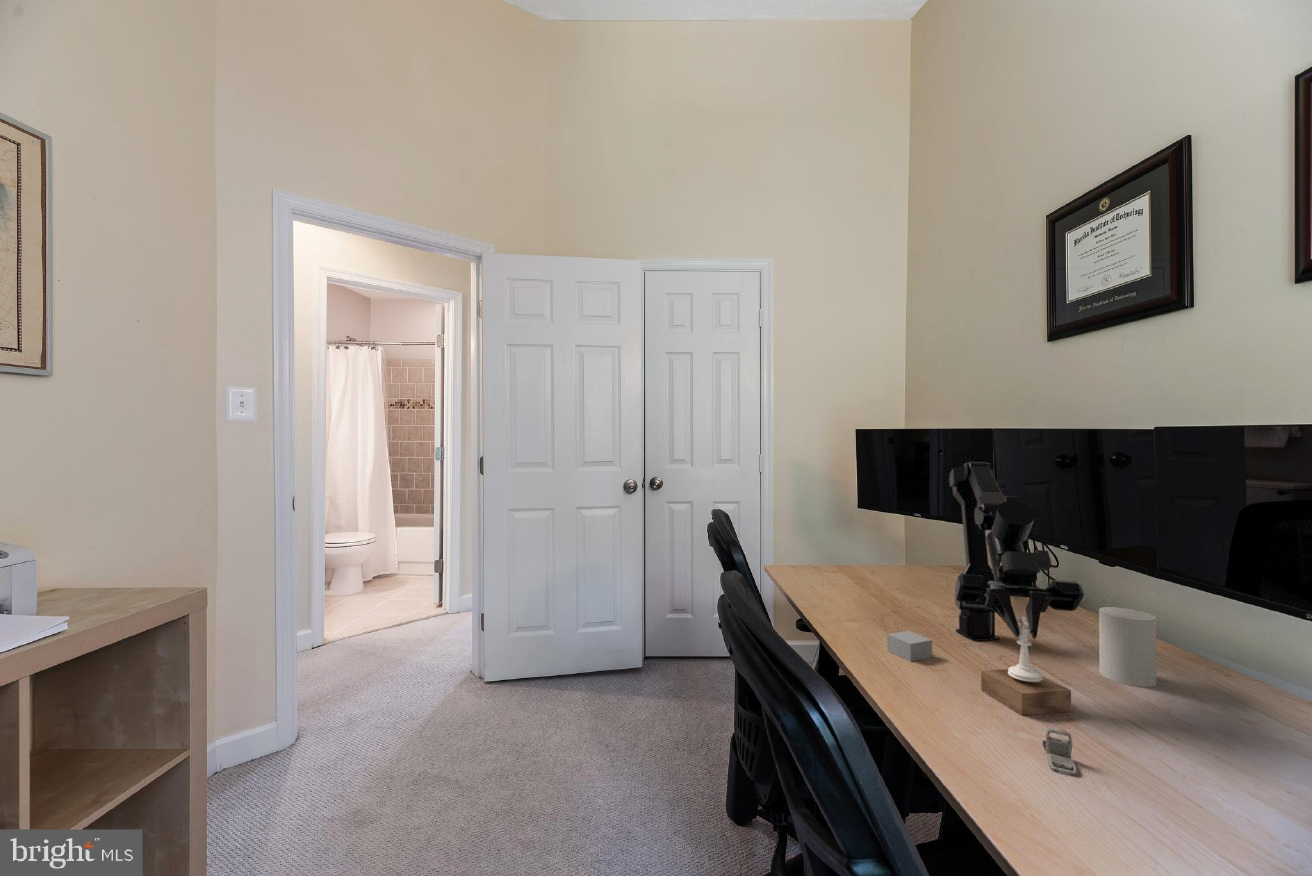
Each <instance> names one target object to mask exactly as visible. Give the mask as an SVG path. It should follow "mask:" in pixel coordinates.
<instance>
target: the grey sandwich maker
mask: <svg viewBox="0 0 1312 876" xmlns="http://www.w3.org/2000/svg"><path fill="white" fill-rule="evenodd" d="M1045 732H1046V733H1045V740H1042V744H1041V745H1042V747H1043V749H1044V751H1046V752H1045V753H1046V754H1047V763H1048V766H1049V770H1051V771H1052V772H1054V773H1057V772H1058V773H1057V774H1061V775H1065V774H1066V775H1065V776H1069V775H1070V777H1077V775H1078V772H1077V771H1078V770H1077V769H1078V768H1077V767H1076V764H1075V763H1074V761H1073V759H1072V758H1071V757H1072V749H1073V739H1072V735H1071V733H1070V732H1068V731H1065V729H1059V728H1054V727H1052V728H1048V729H1046V731H1045ZM1051 734H1057V735H1062V736H1067V737H1068V740H1066V739H1062V738H1057V737H1052V736H1050V735H1051Z"/></svg>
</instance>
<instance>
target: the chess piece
mask: <svg viewBox="0 0 1312 876" xmlns="http://www.w3.org/2000/svg"><path fill="white" fill-rule="evenodd" d="M1026 618H1027V617H1025V616H1021V619H1018V622H1019V623H1021V626H1018V627H1019V632H1020V635H1019V638H1020V639H1017V640H1016V643H1017V644H1018V645H1020V651H1019V659H1018V663H1017V664H1016V665H1012V666H1010V667H1008V674H1009V675H1010V676H1012V677H1013V678H1016V679H1019V680H1023V681H1028V682H1039V681H1042V679H1043V678H1042V676H1043V674H1042V673H1041V672H1040V671H1039V670H1037V669H1034V666H1032V665H1031V662H1030V655H1029V648H1028V647H1030V646H1032V645H1033V644H1032V642H1031V641H1029V640H1028V639H1029V637H1030V635H1031V633H1030V632H1031V629H1029V627H1027V626H1029V624H1028V621H1026V620H1027V619H1026Z"/></svg>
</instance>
